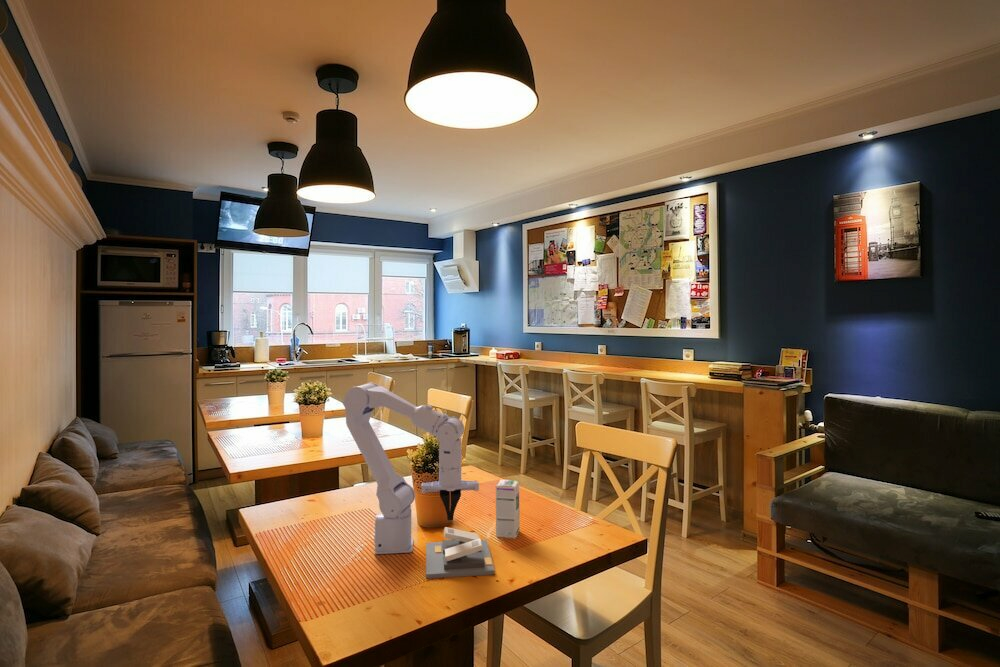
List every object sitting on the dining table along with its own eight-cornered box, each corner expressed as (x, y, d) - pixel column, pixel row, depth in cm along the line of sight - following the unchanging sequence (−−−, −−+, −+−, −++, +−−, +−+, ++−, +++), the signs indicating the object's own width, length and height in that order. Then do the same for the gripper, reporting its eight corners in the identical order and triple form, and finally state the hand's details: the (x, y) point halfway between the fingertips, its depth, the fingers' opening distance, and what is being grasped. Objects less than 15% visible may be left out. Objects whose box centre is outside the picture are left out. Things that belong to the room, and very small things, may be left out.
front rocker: (446, 561, 125) (445, 556, 125) (446, 553, 129) (444, 549, 128) (483, 549, 126) (481, 544, 126) (481, 542, 130) (480, 537, 130)
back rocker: (444, 537, 132) (445, 532, 132) (443, 531, 136) (445, 526, 136) (478, 545, 134) (479, 540, 134) (477, 538, 138) (478, 533, 138)
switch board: (426, 578, 122) (426, 564, 121) (426, 546, 138) (426, 534, 138) (494, 574, 124) (494, 561, 124) (486, 543, 141) (486, 531, 140)
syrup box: (516, 539, 144) (516, 486, 143) (495, 537, 145) (495, 484, 144) (519, 530, 149) (520, 480, 149) (499, 528, 150) (499, 478, 150)
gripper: (421, 471, 129) (421, 526, 130) (480, 469, 131) (479, 523, 131) (421, 463, 136) (421, 515, 137) (477, 461, 138) (477, 513, 138)
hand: (450, 518), depth 134 cm, fingers closed
